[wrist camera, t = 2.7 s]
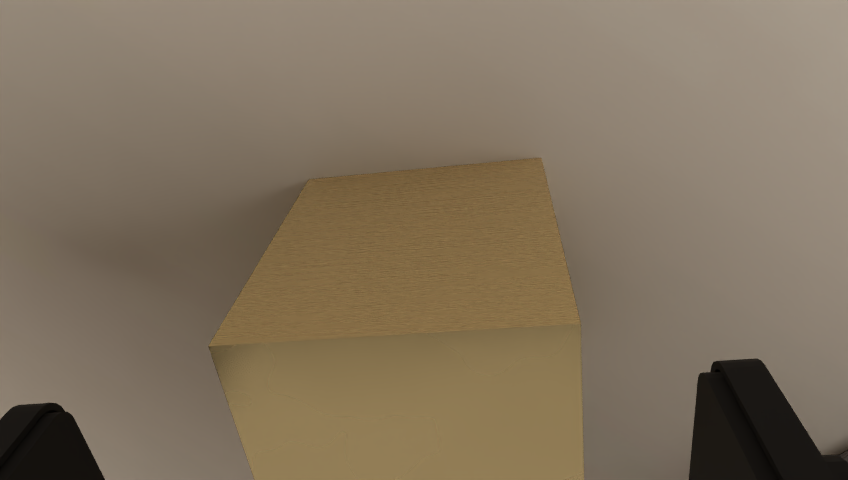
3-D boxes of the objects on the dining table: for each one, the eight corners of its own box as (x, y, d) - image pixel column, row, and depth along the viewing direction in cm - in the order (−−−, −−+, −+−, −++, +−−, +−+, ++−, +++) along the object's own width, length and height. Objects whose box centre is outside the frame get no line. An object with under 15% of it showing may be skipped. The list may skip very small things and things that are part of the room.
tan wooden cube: (540, 156, 14) (581, 323, 8) (549, 349, 16) (586, 577, 11) (309, 178, 14) (208, 345, 9) (350, 361, 16) (289, 580, 11)
